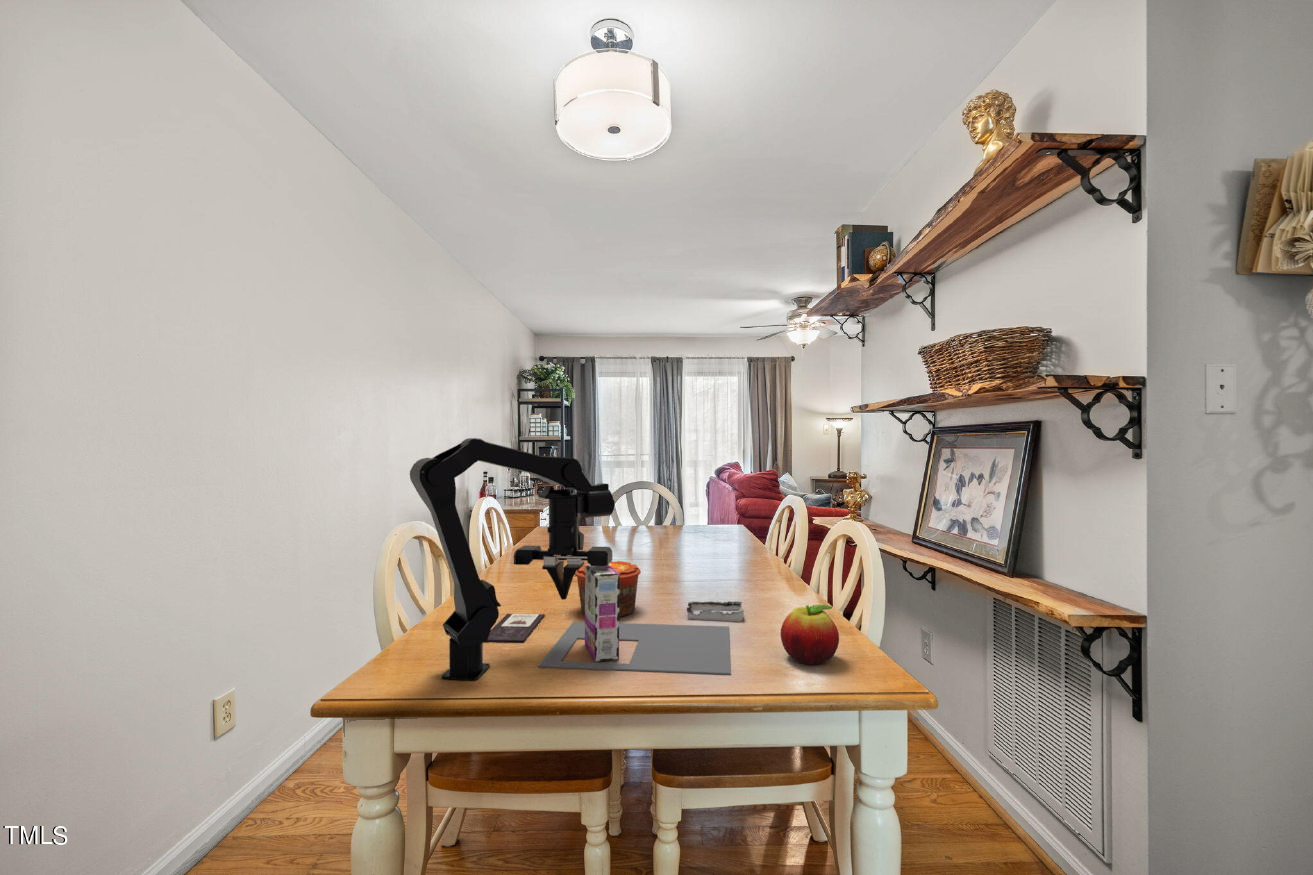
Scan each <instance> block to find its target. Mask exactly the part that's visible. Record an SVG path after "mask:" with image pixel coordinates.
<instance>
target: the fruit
mask: <svg viewBox="0 0 1313 875" xmlns="http://www.w3.org/2000/svg"><path fill="white" fill-rule="evenodd" d="M832 609H833V606H832V605H828V604H813V605H809V604H806V605H805V607H801V606H800V607H796V608H794V609H793V610H791V611H790V612H788V614H787V615H786V617H785V618H784V620H783V622H782V624H781V628H780V639H781V640H780V641H781V644H782V648H783V649H784V650H785V652H786V654H787V655H788V656H790V658H791V659H793V660H794V661H795V662H797V663H799V664H800V663H801V664H804V665H815V666H816V665H822V664H825V663H826V662H828V661H830V660H831V658H833V657H834V655H835V654H836V652H837V650H838V646H839V643H840V635H839V634H840V633H839V630H838V628H837V625H836V624H835V622H834V621H833V619H832V618H831V616H829V614H828V613H827V612H826V611H827V610H832ZM824 610H826V611H824Z"/></svg>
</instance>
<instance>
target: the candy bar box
mask: <svg viewBox="0 0 1313 875" xmlns="http://www.w3.org/2000/svg"><path fill="white" fill-rule="evenodd" d="M585 564H586V563H585ZM619 589H620V574H619V573H618V572H616V571H615V570H614V569H613V568H612V567H611V566H610V565H608V566H591V565H590V564H586V565H585V615H584V622H585V639H584V645H585V646H586V648H587V650H588V651H589V653H590V656H591V657H592V659H593V660H594V661H593V662H597V663H604V662H610V661H611V662H612V661H617V660H620V641H619V623H620V617H619Z"/></svg>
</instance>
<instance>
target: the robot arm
mask: <svg viewBox="0 0 1313 875" xmlns="http://www.w3.org/2000/svg"><path fill="white" fill-rule="evenodd" d="M477 462H481V463H485V464H489V465H495V466H499V467H502V468H506V469H511V470H515V471H519V472H522V473H523V472H524V473H528V474H530V475H532V476H534V477H536V478H538V479H539V480H541V481H543V482H546V483H547V484H548V483H549V484H550V485H552V486H550V485H547V486H545V488H544V489H543V490H542V491H541V492H540V493H538V496H537V497H538V498H539V499H544V500H548V527H547V533H548V548H547V550H545V549H544V550H542V547H541V546H540V545H523V546H521V547H519V548H518V549H516V550H515V551H514V554H513V565H517V566H518V565H520V566H529V565H531V563H532V562H533V561H539V560H540V561H543V565H542V568H541V570H546V571H547V573H548V575H549V576H550V579H552V582H553V583H554V585H555V588H556V591H557V592H558V594H559V597H560V599H561V600H562V601H563V600H565V601H566V599H567V598H568V594H569V593H570V592H569V591H570V588H571V585H572V582H573V579H574V577H575V572H576V570H579V569H580V568H581V567H582V566H583V565H584V564H585V561H587V562H586V563H589V564H590V565H591V566H608V565H609V564H610V562H611V561H612V562H613V550H612V548H611V547H610V546H592V547H591V548H589V549H588V550H584V544H585V543H584V542H585V534H584V533H582V532H581V530H580V524H579V515H580V517H581V518H583V519H588V518H589V519H590V518H600V517H601V518H602V517H609V516H611V515H612V514H613V512H614V510H615V505H616V504H615V500H614V495H613V493H612V491H611V490H610V489H609V487H610V485H609V483H604V482H602V483H601V482H600V483H596V484H591V482H589V480H588V479H587V476H586V475H585V474H584V472H583V468H582V465H581V463H580V461H579V460H578V459H576V458H575V457H571V456H569V457H567V456H553V455H539V454H535V453H531V452H527V451H524V450H519V449H516V448H512V447H509V446H505V445H500V444H496V443H493V442H489V441H485V440H483V439H482V438H478V437H477V438H476V437H471V438H466V439H464V440H462V441H461V442H460V443H458V444H457V445H454V446H453V447H450V448H448V449H447V450H444V451H443V452H440V453H438V454H436V455H435V456H433V457H423V458H420V459H418V460H416V462H414V463H413V464H412V467H411V468H410V469H409V470H410V471H409V478H410V479H409V480H410V481H411V484H412V485H413V488H414V489H415V490H416V492H417V494H418V495H419V498H420V499H421V500H422V502H423V503H424V504H425V506H426V508H427V509H428V510H429V512H430V515H431V517H432V520H433V523H434V527H435V530H436V532H437V537H438V540H439V542H440V544H441V547H442V552H443V554H444V557H445V559H446V563H447V566H448V569H449V572H450V574H451V578H452V580H453V585H454V586H453V602H454V604H453V605H454V611H453V612H452V613H451V615H450V616H448V617H447V619H446V620H445V621H444V623H442V627H443V630H444V632H445V635H446V636H449V640H448V643H449V644H448V646H449V647H448V648H449V651H448V652H449V654H448V659H449V662H448V663H449V666H448V667H449V668H448V669H447V670H446V671H445V672H444V673H442V674H441V675H440V676H441V679H442V680H443V679H445V680H462V681H463V680H464V681H465V680H466V681H476V680H478V679H479V678H480V677H481V676H482V675H483V674H484V673H485V672H486V671H487V670H488V669H489V668H490V667H491V664H490V663H485V662H484V657H483V656H484V652H483V651H484V648H483V647H484V646H483V645H484V643H485V644H486V643H488V642H487V640H488V637H489V634H490V631H491V629H492V628H493V627H494V626H495V625H496V624H497V623H496V622H497V620H498V619H499V617H500V616H499V615H500V611H499V608H498V607H501V606H502V604H500V602H499V601H498V599H497V594H496V593H497V592H496V589H495V586H494V585H493V584H491V583H490V582H487V581H486V580H484V579H480V577H479V574H478V570H477V567H476V565H475V561H474V558H473V555H472V551H471V549H470V546H469V542H468V540H467V536H466V534H465V530H464V527H463V524H462V522H461V519H460V515H459V512H458V509H457V506H456V503H457V502H456V500H457V499H456V498H457V496H456V495H457V486H456V478H457V477H459V476H460V475H461V474H463V473H465V471H467V470H468V469H469V468H471V467H472V466H473V465H475V464H476V463H477ZM553 486H558V487H560V486H561V487H562V488H559V489H555V488H554V487H553ZM569 490H573V491H576V492H572V493H571V492H570V491H569ZM565 561H566V563H567V564H566V565H565ZM564 565H565V566H564Z"/></svg>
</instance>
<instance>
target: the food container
mask: <svg viewBox="0 0 1313 875" xmlns="http://www.w3.org/2000/svg"><path fill="white" fill-rule="evenodd" d="M586 564H589V563H588V562H586V563H584V565H583V566H582V567H581V568H580V569H579V570H576V572H575V575H574V577H576V579H577V580H576V581H577V587H578V593H579V595H578V596H579V602H580V603H579V604H580V608H581V614H582V615H584V616H585V565H586ZM609 565H610V566H611V567H612V568H613V569H614V570H615V571H616V572H618V573H619V574H620V589H619V618H623V617H626V616H629V615H631V614H632V613H634V612H635V609H636V599H637V591H638V582H639V575H640V574H642V573H641V568H640V567H638V565H637V564H633V563H632V564H631V562H629V561H620V560H618V561H617V560H616V561H613V560H612V561H611V562H610V564H609Z"/></svg>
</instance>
